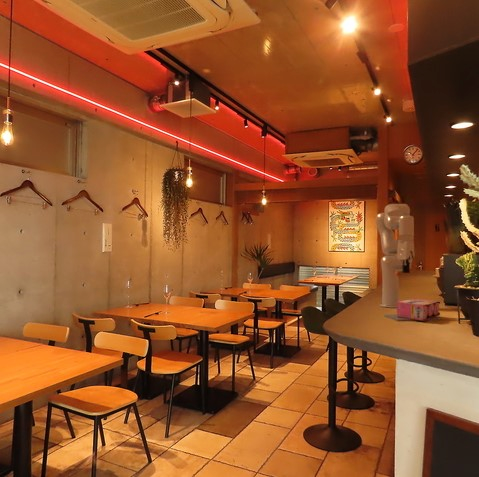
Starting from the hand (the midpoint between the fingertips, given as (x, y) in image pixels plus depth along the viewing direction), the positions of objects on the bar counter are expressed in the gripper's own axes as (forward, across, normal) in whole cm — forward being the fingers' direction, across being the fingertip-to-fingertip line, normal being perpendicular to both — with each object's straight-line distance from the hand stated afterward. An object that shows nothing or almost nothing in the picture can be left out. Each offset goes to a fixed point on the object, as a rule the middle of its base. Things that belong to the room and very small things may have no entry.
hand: (406, 272), depth 221 cm
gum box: (+18, +1, -1) cm, 18 cm away
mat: (+23, +7, 0) cm, 24 cm away
